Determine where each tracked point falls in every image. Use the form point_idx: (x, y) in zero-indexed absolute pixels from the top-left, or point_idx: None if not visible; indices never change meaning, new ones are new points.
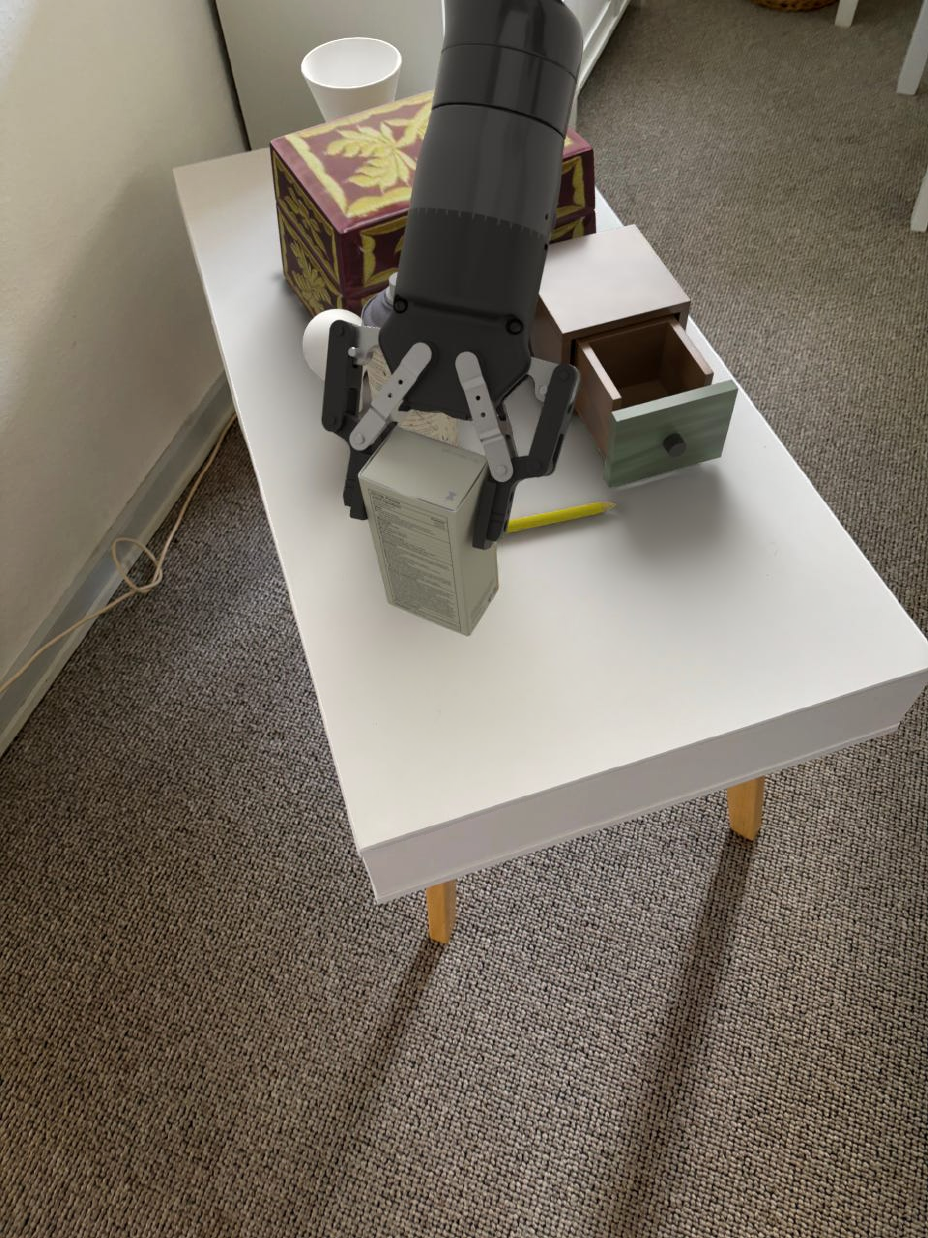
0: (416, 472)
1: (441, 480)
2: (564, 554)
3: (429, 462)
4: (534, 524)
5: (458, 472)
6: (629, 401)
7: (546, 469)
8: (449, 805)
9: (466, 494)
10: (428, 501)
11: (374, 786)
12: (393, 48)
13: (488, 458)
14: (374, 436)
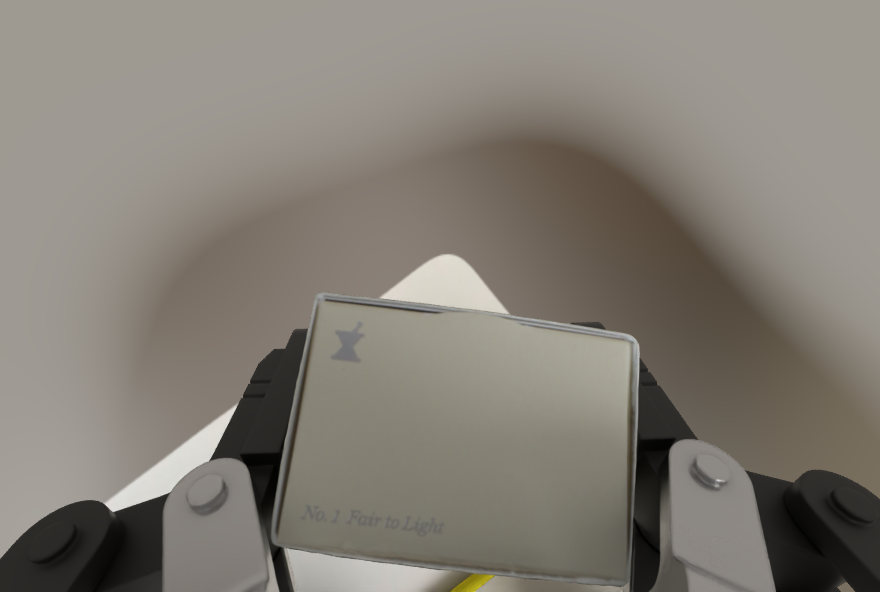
0: (481, 403)
1: (396, 396)
2: (383, 585)
3: (458, 455)
4: None
5: (355, 444)
6: None
7: (20, 539)
8: (402, 288)
9: (306, 368)
10: (406, 310)
11: (464, 284)
12: None
13: (251, 522)
14: (673, 491)
